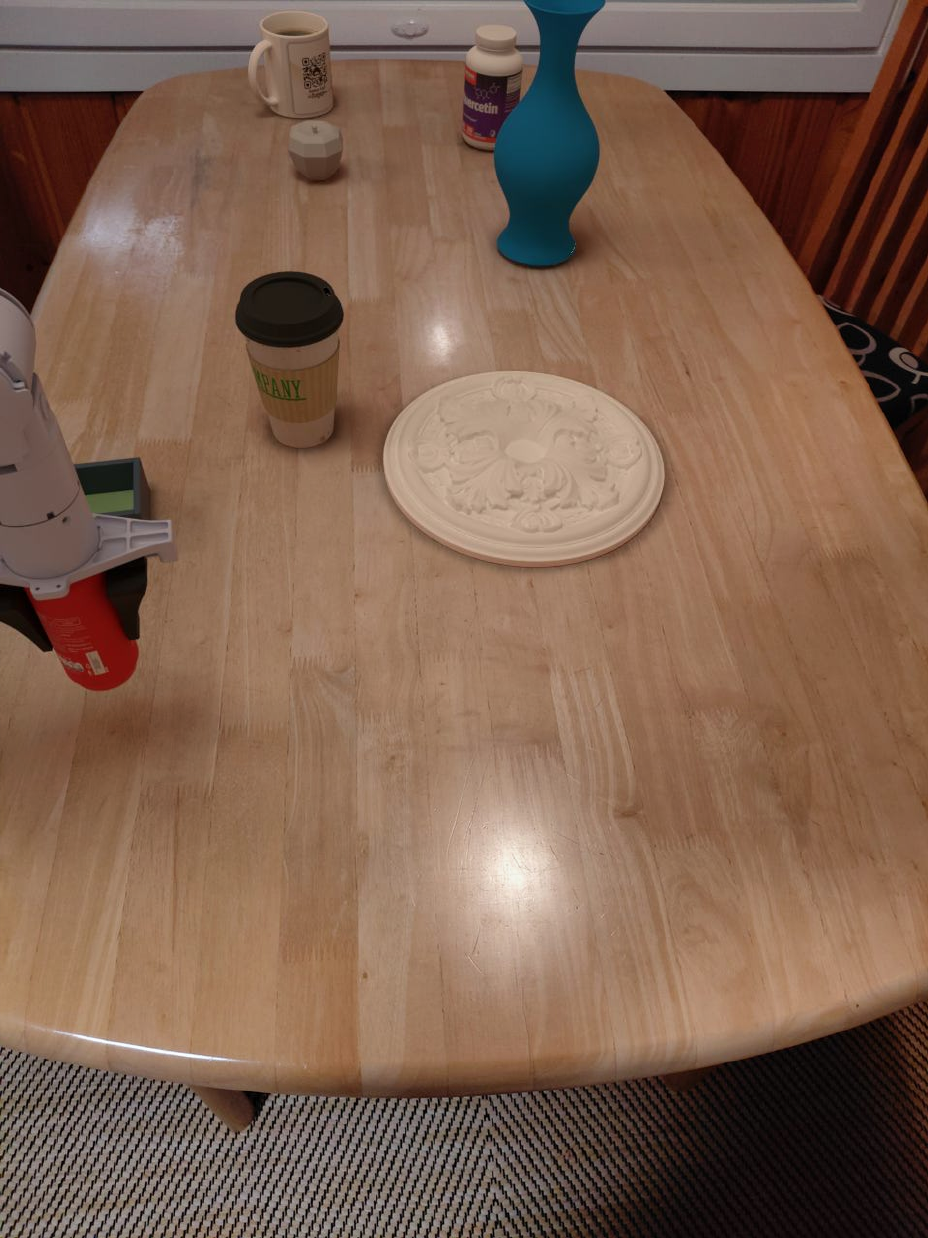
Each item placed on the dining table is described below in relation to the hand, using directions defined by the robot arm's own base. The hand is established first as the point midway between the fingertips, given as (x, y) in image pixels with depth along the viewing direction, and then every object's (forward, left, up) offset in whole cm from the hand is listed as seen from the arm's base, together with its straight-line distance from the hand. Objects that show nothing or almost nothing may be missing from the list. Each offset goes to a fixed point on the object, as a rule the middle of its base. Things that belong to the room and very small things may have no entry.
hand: (91, 634), depth 65 cm
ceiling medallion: (+38, +23, -10) cm, 46 cm away
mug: (+24, +107, -11) cm, 110 cm away
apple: (+25, +85, -11) cm, 89 cm away
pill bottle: (+51, +92, -11) cm, 106 cm away
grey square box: (-2, +22, -10) cm, 24 cm away
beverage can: (0, 0, -4) cm, 4 cm away
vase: (+50, +62, -11) cm, 81 cm away
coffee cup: (+17, +32, -11) cm, 38 cm away
